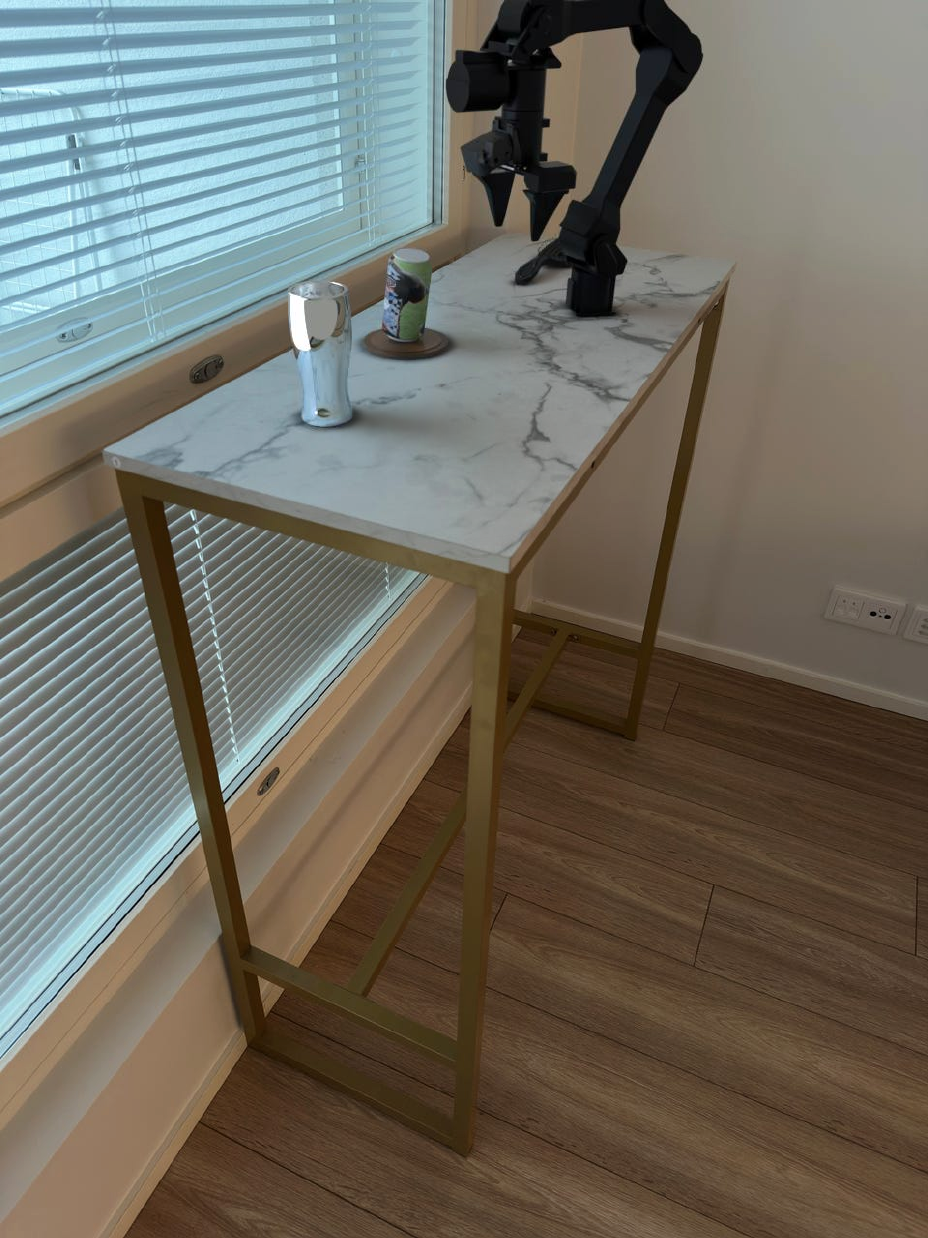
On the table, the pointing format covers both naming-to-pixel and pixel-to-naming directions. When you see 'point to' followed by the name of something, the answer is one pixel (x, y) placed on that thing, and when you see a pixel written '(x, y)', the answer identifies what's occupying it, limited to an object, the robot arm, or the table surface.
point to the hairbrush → (541, 262)
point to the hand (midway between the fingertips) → (516, 233)
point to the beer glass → (322, 349)
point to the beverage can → (406, 294)
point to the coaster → (406, 345)
